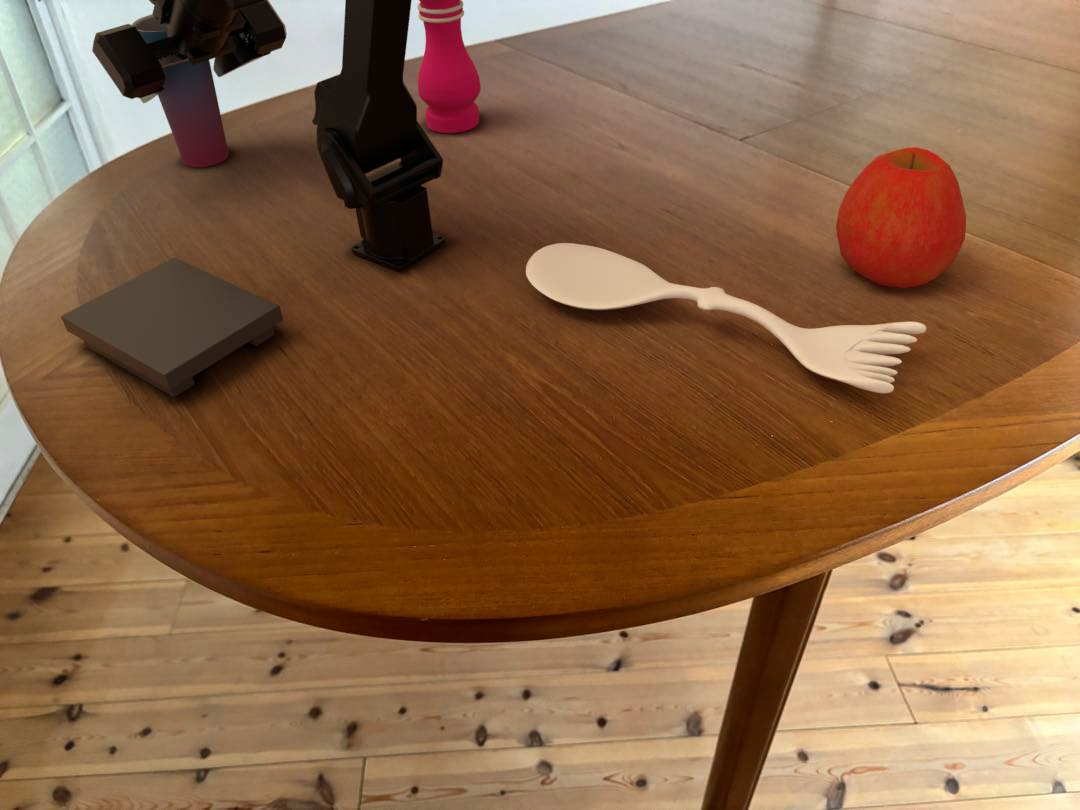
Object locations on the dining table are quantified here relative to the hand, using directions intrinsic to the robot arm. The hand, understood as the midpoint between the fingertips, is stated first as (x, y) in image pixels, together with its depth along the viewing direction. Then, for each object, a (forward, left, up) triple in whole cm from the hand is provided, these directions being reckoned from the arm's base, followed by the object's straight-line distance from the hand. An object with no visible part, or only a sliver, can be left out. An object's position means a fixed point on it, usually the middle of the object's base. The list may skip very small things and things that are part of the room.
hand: (180, 85), depth 99 cm
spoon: (-64, -1, -8) cm, 64 cm away
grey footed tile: (-29, +24, -8) cm, 39 cm away
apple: (-73, -18, -8) cm, 76 cm away
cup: (-1, 0, -8) cm, 8 cm away
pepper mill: (-19, -22, -8) cm, 30 cm away
